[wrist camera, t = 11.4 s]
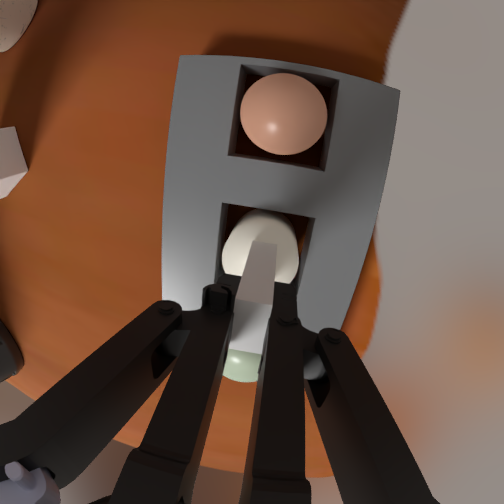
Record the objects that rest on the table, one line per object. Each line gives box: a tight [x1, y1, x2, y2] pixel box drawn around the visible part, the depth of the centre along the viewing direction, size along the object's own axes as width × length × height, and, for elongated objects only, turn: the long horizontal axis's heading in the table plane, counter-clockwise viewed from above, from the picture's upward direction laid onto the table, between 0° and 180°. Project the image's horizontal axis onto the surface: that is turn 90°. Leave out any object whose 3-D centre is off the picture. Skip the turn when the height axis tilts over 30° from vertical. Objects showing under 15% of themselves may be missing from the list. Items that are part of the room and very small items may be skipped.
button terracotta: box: [240, 73, 327, 155], centre depth 16 cm, size 5×5×4 cm
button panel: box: [162, 55, 400, 376], centre depth 20 cm, size 25×14×3 cm, turn 172°
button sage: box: [223, 348, 262, 382], centre depth 23 cm, size 5×5×4 cm
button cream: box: [222, 208, 299, 284], centre depth 19 cm, size 5×5×4 cm
